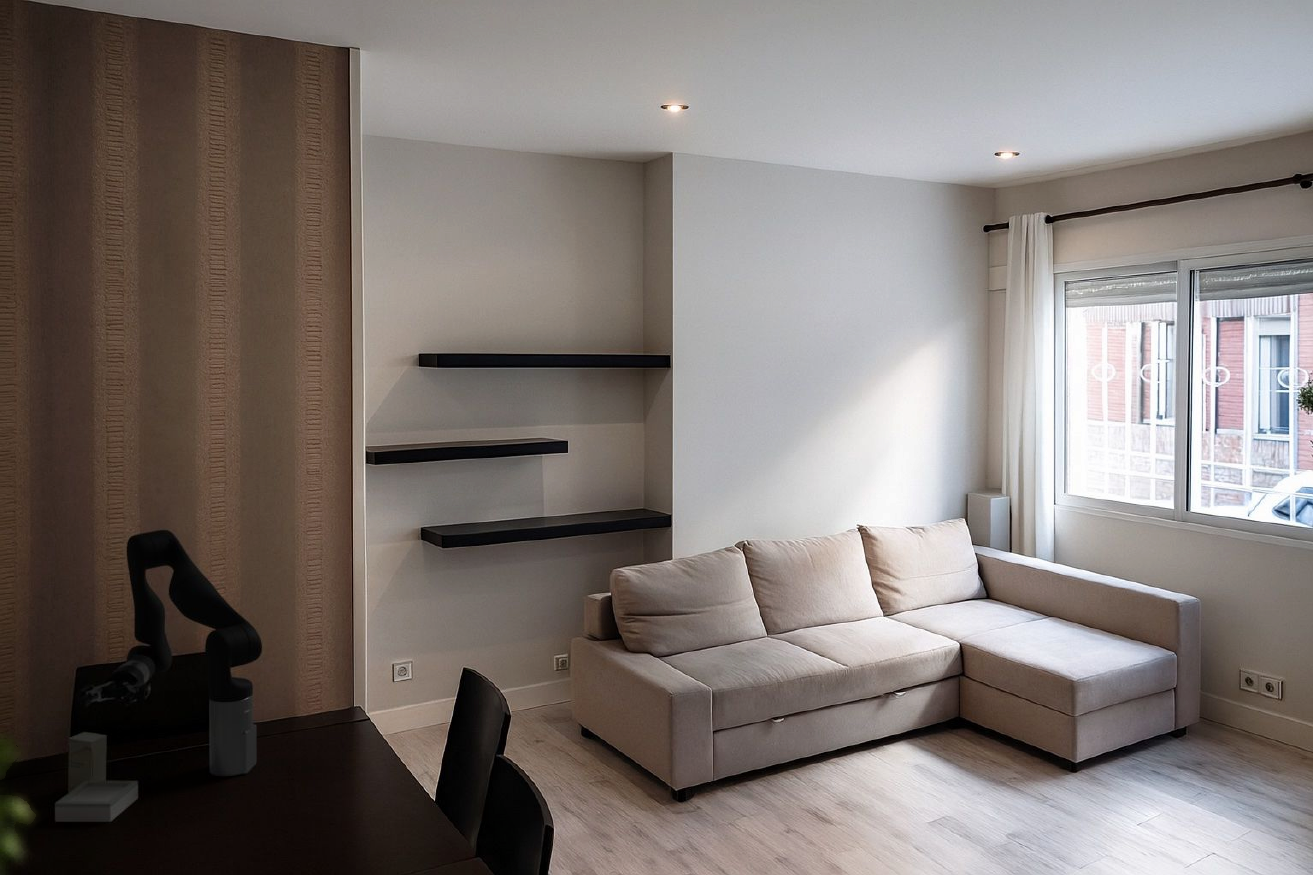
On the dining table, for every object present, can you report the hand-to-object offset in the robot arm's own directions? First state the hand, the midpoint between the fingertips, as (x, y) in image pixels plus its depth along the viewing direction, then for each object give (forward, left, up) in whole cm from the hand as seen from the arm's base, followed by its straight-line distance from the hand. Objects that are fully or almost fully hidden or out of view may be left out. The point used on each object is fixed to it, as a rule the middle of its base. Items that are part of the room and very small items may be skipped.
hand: (104, 702), depth 216 cm
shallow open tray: (-9, +20, -16) cm, 27 cm away
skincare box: (-2, +11, -16) cm, 20 cm away
